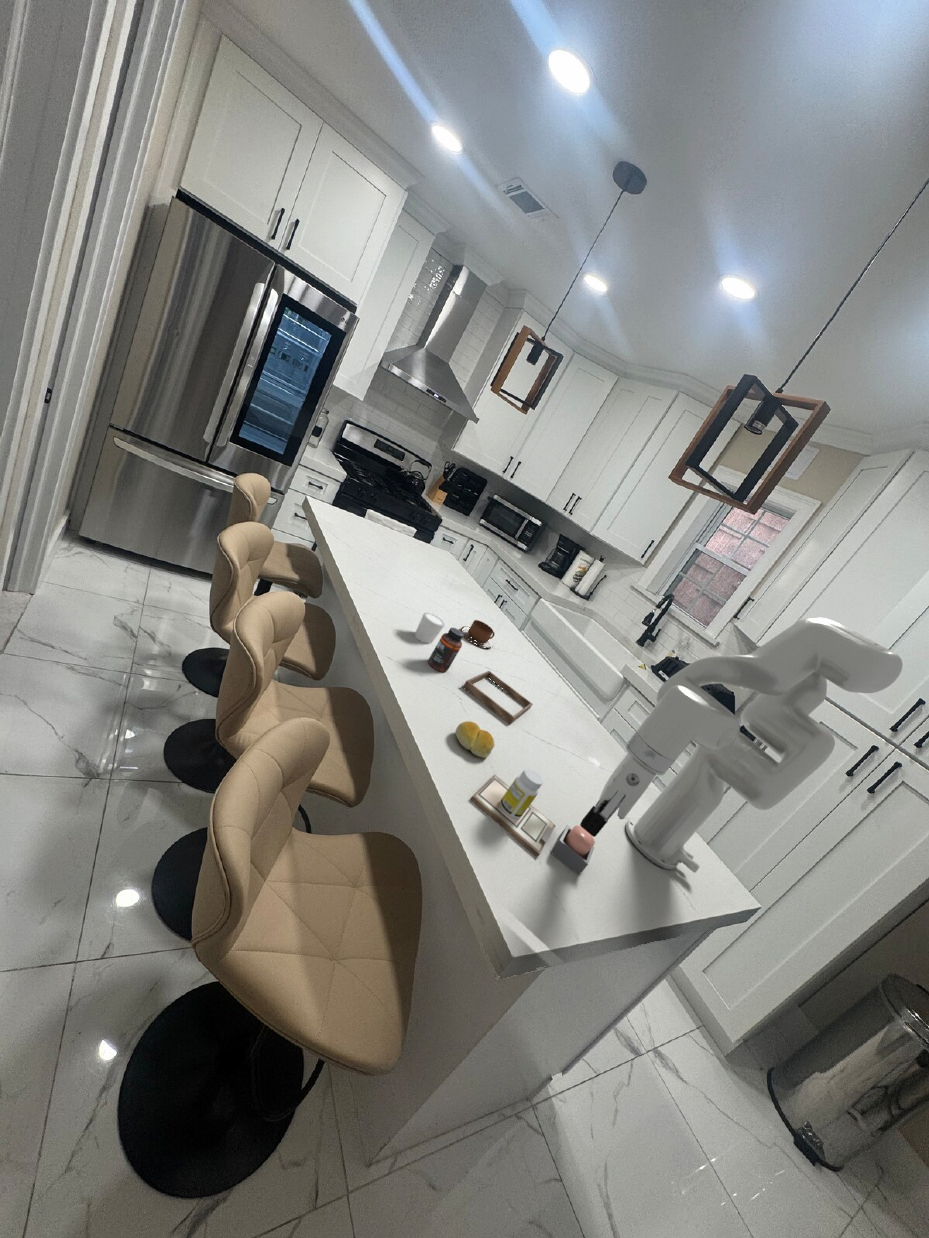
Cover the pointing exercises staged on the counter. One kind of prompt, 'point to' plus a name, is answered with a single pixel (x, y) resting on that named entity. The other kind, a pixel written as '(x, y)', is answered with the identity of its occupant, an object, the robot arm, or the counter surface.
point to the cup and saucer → (479, 632)
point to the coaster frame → (492, 704)
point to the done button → (580, 840)
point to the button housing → (570, 853)
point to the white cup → (429, 628)
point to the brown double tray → (526, 829)
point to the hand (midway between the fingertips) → (587, 829)
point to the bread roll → (475, 739)
